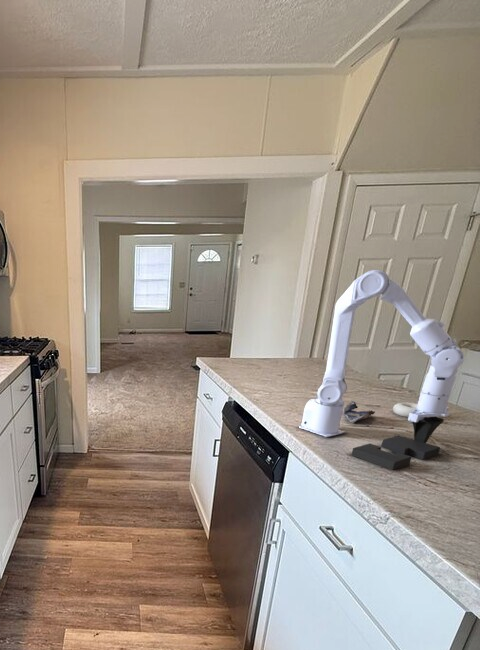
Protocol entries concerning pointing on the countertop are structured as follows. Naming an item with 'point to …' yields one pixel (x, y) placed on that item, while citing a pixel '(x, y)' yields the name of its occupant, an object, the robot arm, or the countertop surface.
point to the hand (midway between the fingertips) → (419, 443)
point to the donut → (404, 408)
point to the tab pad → (410, 447)
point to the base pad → (381, 456)
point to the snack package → (355, 413)
